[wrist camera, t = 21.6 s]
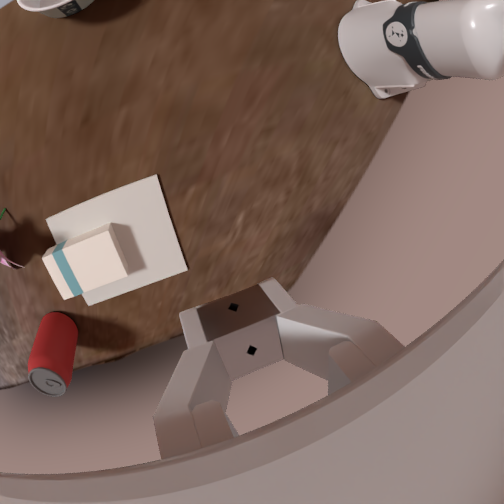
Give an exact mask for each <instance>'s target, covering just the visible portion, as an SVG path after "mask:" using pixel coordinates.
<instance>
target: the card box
mask: <svg viewBox="0 0 504 504" xmlns="http://www.w3.org/2000/svg"><path fill="white" fill-rule="evenodd" d="M42 260H43V262H44V264H45V266H46V268H47V270H48V272H49V274H50V275H51V277H52V279H53V281H54V283H55V285H56V287H57V288H58V290H59V292H60V294H61V295H62V297H63V299H64V300H66V299H68V298H71V297H74V296H77V295H79V294H82V293H84V292H87V291H89V290H92V289H95V288H97V287H100V286H103V285H105V284H108V283H111V282H114V281H116V280H119V279H122V278H124V277H127V276H128V264H127V261H126V259H125V257H124V254H123V252H122V250H121V247H120V245H119V242H118V240H117V237H116V235H115V232H114V230H113V227H112V225H111V222H110V223H108V224H105V225H103V226H100V227H98V228H95V229H93V230H90V231H88V232H86V233H83V234H81V235H78V236H76V237H74V238H71V239H69V240H66V241H64V242H62V243H59V244H57V245H55V246H53V247H51V248H49V249H47V251H46V253H45V254H44V256H43V257H42Z"/></svg>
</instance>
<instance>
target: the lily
mask: <svg viewBox="0 0 504 504" xmlns="http://www.w3.org/2000/svg"><path fill="white" fill-rule="evenodd" d="M5 210H6V208H4V210H3V212H2V214H1V216H0V220H1V218H2V216H3V214H4V212H5ZM5 260H7V261H9V262H10V263H12V264H15V265H17V266H20V265H18V264H16V263H14V262H12V261H10V260H9V259H7V258H6V257H5V256H4V255H3V254H2V252H1V250H0V263H2V264H4V265H6V266H9V265H8V264H7V262H6V261H5ZM9 267H10V266H9ZM20 267H23V266H20ZM11 268H13V267H11ZM13 269H15V268H13ZM16 270H17V269H16Z"/></svg>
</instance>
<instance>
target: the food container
mask: <svg viewBox="0 0 504 504" xmlns="http://www.w3.org/2000/svg"><path fill="white" fill-rule="evenodd" d="M93 1H94V0H17V2H18V4H19V5H20V6H21V7H22V8H23V9H25V10H28V11H38V12H40V13H42V14H44V15H46V16H49V17H52V18H62V17H67V16H70V15H73V14H75V13H77V12H79V11H81V10H83V9H84V8H86V7H87V6H88V5H90V4H91V3H92V2H93Z"/></svg>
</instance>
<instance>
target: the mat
mask: <svg viewBox="0 0 504 504" xmlns="http://www.w3.org/2000/svg"><path fill="white" fill-rule="evenodd" d="M46 221H47V223H48V226H49V228H50V230H51V233H52V235H53V237H54V240H55V242H56V244H59V243H62V242H64V241H66V240H69V239H71V238H74V237H76V236H78V235H81V234H83V233H86V232H88V231H90V230H93V229H95V228H98V227H100V226H103V225H105V224H108V223H110V222H111V225H112V227H113V230H114V232H115V235H116V237H117V240H118V242H119V245H120V247H121V250H122V252H123V254H124V257H125V259H126V261H127V264H128V276H127V277H124V278H122V279H119V280H116V281H114V282H111V283H108V284H105V285H103V286H100V287H97V288H95V289H92V290H89V291H87V292H84V293H82V295H83V297H84V299H85V301H86V302H87V304H88V306H90V305H93V304H95V303H98V302H101V301H104V300H106V299H109V298H112V297H115V296H117V295H120V294H123V293H126V292H129V291H131V290H134V289H137V288H140V287H142V286H145V285H148V284H151V283H153V282H156V281H159V280H162V279H165V278H167V277H170V276H173V275H176V274H178V273H181V272H184V271H187V270H188V269H187V266H186V264H185V261H184V258H183V255H182V252H181V249H180V246H179V243H178V241H177V238H176V235H175V232H174V229H173V226H172V222H171V219H170V216H169V213H168V210H167V207H166V204H165V200H164V197H163V194H162V191H161V187H160V184H159V181H158V177H157V174H156V175H153V176H150V177H147V178H144V179H142V180H139V181H136V182H133V183H130V184H128V185H125V186H122V187H120V188H117V189H114V190H112V191H109V192H107V193H104V194H102V195H99V196H97V197H94V198H92V199H90V200H87V201H85V202H82V203H80V204H78V205H76V206H73V207H71V208H69V209H67V210H64V211H62V212H60V213H58V214H56V215H53V216H51V217H49V218H47V219H46Z"/></svg>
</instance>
